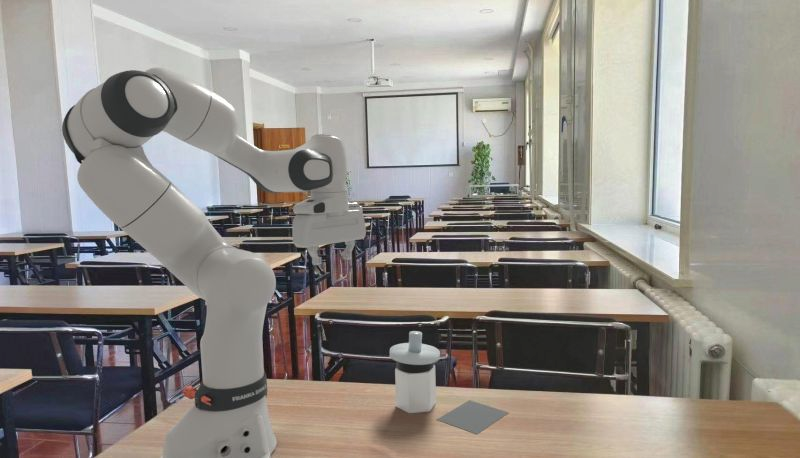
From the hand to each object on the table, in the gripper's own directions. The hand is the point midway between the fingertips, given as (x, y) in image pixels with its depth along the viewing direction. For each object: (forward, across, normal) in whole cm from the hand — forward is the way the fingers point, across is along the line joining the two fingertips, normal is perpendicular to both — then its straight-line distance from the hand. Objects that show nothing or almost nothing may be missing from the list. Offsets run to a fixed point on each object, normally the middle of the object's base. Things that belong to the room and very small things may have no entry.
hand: (332, 261), depth 127 cm
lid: (+19, -3, +23) cm, 30 cm away
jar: (+31, -3, +23) cm, 39 cm away
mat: (+31, -6, +36) cm, 48 cm away
